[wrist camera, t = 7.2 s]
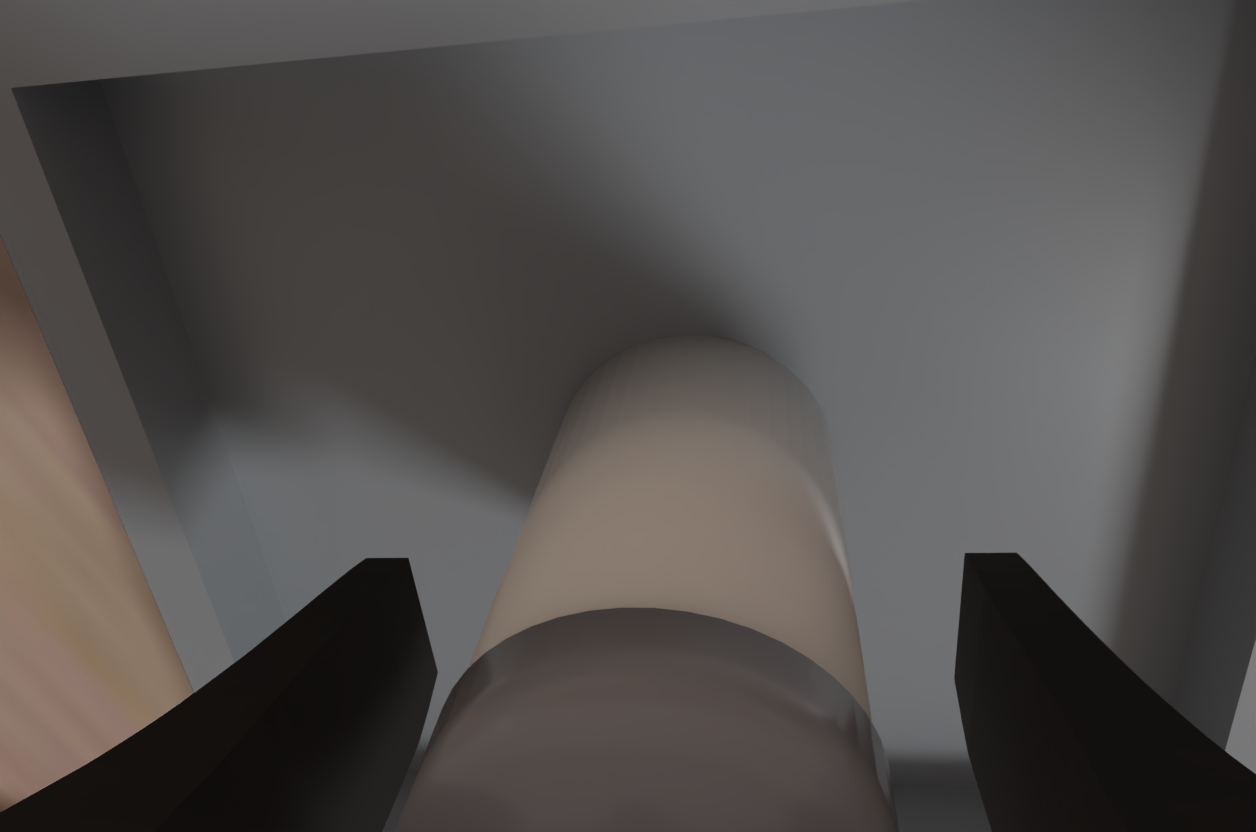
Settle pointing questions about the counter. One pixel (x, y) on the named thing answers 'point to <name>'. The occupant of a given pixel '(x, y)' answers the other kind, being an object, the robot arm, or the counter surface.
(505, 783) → the shaker
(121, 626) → the counter surface
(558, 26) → the tray
